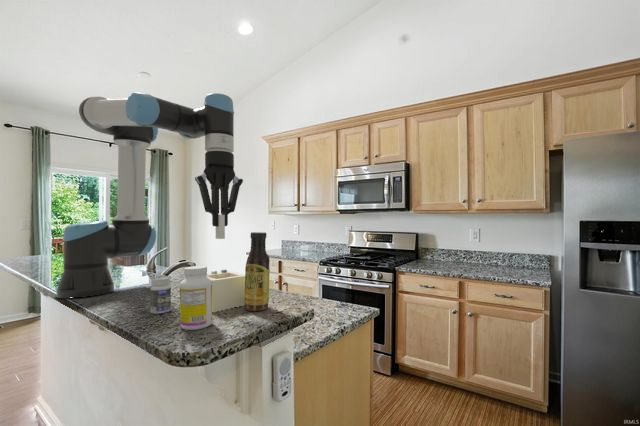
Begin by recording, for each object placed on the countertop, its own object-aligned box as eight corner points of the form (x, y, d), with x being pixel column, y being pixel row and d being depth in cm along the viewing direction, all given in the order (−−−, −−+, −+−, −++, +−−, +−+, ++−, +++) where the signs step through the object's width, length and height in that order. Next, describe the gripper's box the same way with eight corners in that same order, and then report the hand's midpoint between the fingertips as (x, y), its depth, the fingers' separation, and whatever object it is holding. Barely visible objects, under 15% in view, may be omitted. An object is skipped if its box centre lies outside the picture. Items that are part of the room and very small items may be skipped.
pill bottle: (159, 314, 79) (159, 280, 80) (146, 312, 81) (145, 279, 82) (175, 309, 84) (174, 277, 84) (162, 308, 86) (162, 276, 86)
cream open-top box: (194, 303, 89) (194, 272, 90) (227, 297, 96) (227, 268, 96) (212, 312, 81) (212, 278, 81) (248, 305, 87) (248, 273, 87)
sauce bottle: (239, 311, 81) (239, 232, 82) (252, 305, 87) (251, 231, 88) (263, 313, 79) (262, 232, 80) (274, 306, 85) (273, 231, 86)
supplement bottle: (195, 319, 75) (195, 264, 75) (218, 322, 73) (218, 265, 73) (172, 329, 69) (172, 268, 69) (197, 332, 66) (197, 270, 67)
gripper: (200, 146, 81) (200, 240, 81) (247, 153, 90) (248, 237, 89) (190, 151, 87) (191, 239, 87) (235, 157, 95) (236, 236, 95)
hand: (220, 238), depth 88 cm, fingers closed
